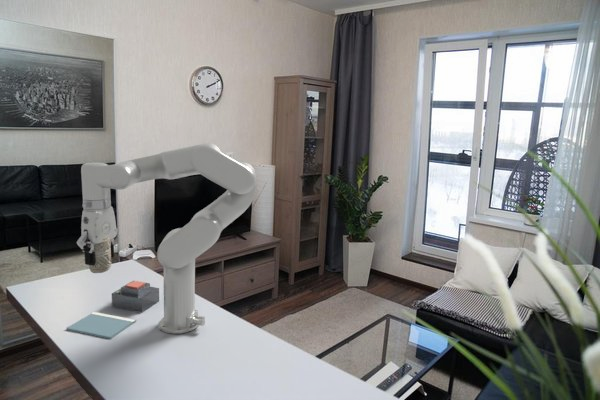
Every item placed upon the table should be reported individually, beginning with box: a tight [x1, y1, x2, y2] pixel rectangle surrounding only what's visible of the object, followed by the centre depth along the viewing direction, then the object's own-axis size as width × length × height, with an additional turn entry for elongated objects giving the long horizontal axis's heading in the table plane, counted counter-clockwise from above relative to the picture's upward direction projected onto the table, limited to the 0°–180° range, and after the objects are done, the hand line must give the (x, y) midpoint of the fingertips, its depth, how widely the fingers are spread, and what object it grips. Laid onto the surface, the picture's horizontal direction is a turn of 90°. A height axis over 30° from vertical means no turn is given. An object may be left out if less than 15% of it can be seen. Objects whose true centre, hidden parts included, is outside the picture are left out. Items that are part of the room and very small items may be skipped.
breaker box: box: [111, 280, 160, 314], centre depth 151 cm, size 12×10×7 cm
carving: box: [88, 236, 112, 274], centre depth 131 cm, size 6×8×12 cm
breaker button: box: [125, 280, 146, 289], centre depth 151 cm, size 5×5×2 cm
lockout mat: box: [66, 311, 137, 340], centre depth 136 cm, size 16×12×1 cm
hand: (100, 260), depth 132 cm, fingers closed on carving, 7 cm apart
